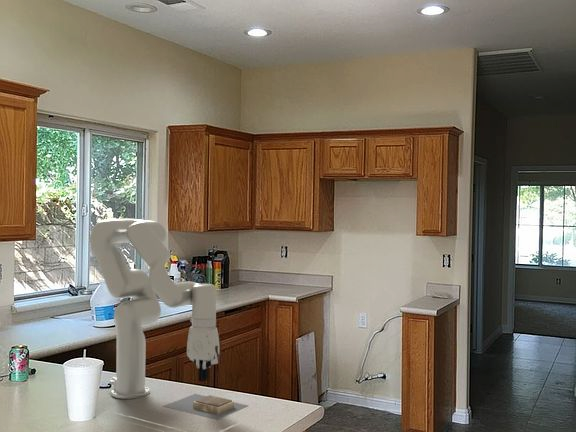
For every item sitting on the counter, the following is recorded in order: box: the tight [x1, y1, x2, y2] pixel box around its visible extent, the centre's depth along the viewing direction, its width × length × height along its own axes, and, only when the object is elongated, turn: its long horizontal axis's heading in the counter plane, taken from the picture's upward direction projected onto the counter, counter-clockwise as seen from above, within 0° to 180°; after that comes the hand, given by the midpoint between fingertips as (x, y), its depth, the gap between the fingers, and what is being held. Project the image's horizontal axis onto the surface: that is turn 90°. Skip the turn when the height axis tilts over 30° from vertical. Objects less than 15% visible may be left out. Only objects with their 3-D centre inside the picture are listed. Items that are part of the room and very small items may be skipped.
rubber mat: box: [162, 393, 249, 421], centre depth 200 cm, size 22×16×1 cm
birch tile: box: [193, 394, 235, 414], centre depth 198 cm, size 2×8×10 cm
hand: (203, 380), depth 200 cm, fingers closed
